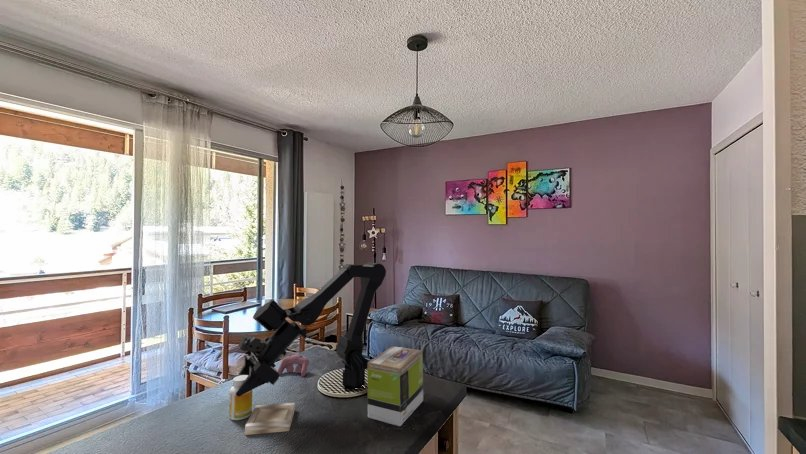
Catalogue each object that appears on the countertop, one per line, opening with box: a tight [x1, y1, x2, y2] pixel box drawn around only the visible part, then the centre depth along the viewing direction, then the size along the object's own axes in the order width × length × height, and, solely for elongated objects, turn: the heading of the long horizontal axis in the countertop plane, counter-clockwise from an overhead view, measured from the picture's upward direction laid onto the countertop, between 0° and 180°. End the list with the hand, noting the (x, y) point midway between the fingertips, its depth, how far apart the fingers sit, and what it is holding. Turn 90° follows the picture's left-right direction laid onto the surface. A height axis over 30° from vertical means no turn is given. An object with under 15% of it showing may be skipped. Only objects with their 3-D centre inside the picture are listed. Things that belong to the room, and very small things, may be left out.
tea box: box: [366, 345, 424, 427], centre depth 92 cm, size 15×10×15 cm
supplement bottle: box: [228, 375, 253, 421], centre depth 88 cm, size 5×5×10 cm
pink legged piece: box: [277, 354, 310, 377], centre depth 116 cm, size 10×5×7 cm, turn 84°
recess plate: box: [244, 402, 296, 436], centre depth 85 cm, size 10×10×2 cm
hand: (235, 391), depth 87 cm, fingers closed on supplement bottle, 5 cm apart
